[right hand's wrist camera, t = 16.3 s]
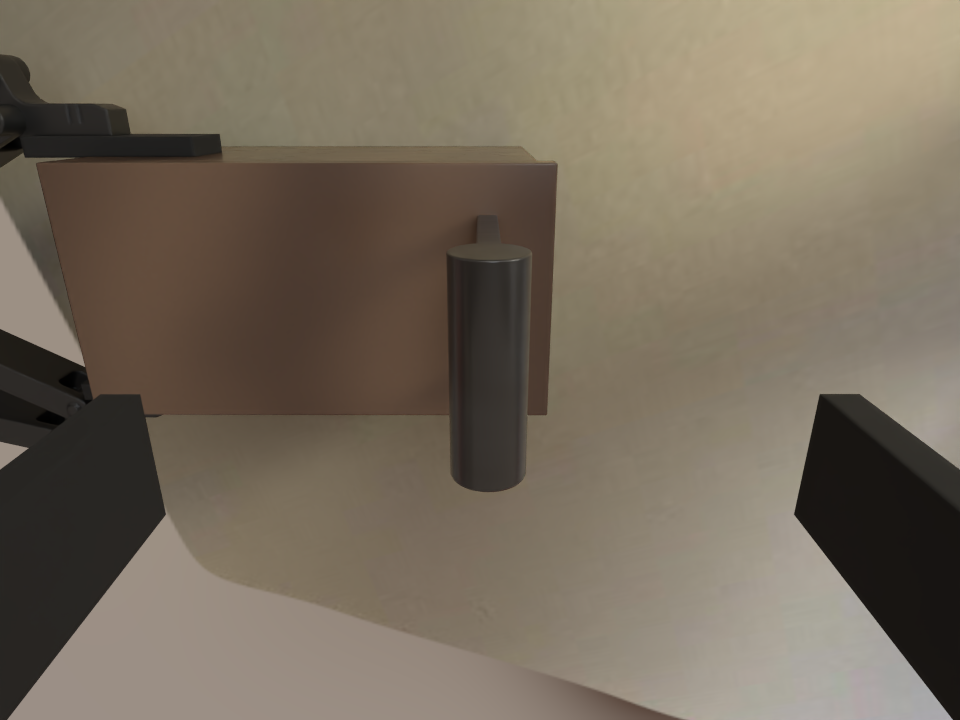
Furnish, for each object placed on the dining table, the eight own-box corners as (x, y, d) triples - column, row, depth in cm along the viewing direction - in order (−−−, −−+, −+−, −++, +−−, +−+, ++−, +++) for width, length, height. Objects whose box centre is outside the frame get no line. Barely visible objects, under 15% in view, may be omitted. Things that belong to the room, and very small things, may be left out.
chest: (522, 146, 31) (537, 160, 22) (518, 330, 35) (530, 404, 26) (173, 146, 31) (53, 160, 23) (203, 330, 35) (110, 404, 26)
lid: (555, 160, 22) (596, 190, 14) (545, 405, 26) (573, 542, 18) (52, 160, 22) (-194, 190, 14) (109, 404, 26) (-63, 540, 18)
